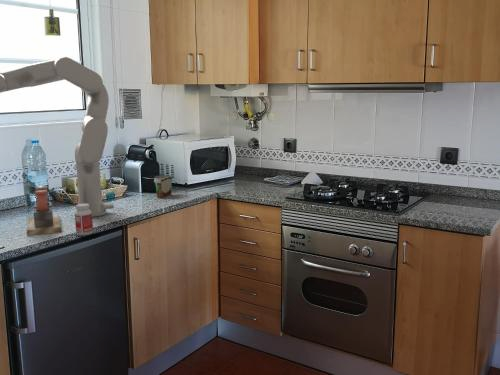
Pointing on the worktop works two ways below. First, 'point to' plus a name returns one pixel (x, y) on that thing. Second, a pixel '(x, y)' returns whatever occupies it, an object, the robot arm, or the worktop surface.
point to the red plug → (42, 200)
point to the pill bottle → (83, 220)
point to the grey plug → (41, 188)
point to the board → (43, 222)
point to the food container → (163, 186)
